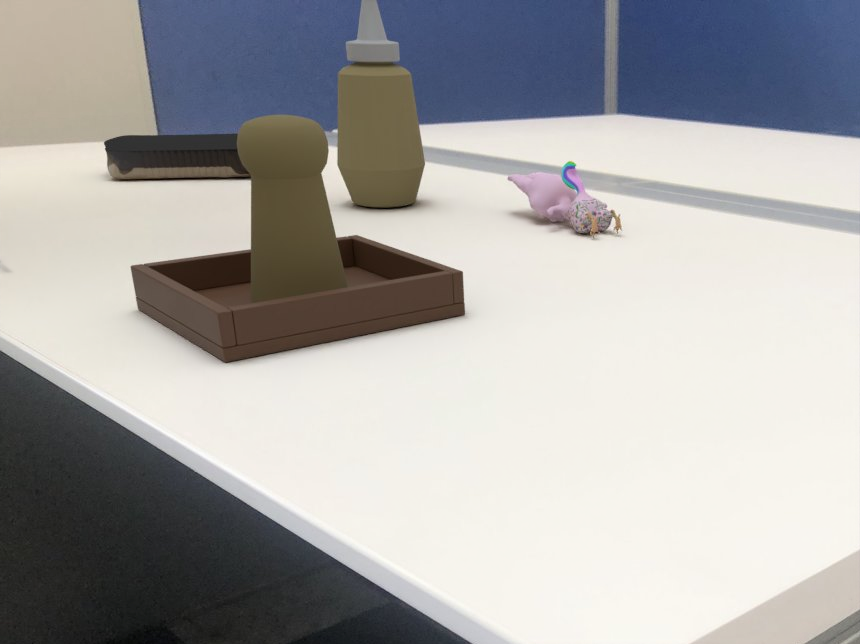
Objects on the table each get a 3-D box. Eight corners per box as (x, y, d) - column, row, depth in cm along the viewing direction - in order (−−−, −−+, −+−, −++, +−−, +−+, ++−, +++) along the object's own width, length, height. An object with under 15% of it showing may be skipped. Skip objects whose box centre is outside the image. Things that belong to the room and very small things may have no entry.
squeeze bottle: (445, 202, 103) (434, -2, 95) (387, 215, 96) (370, -2, 89) (382, 193, 106) (367, -4, 99) (322, 205, 100) (301, -5, 93)
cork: (230, 307, 65) (203, 119, 60) (283, 283, 70) (262, 109, 66) (320, 315, 64) (299, 123, 59) (367, 291, 69) (351, 113, 65)
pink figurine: (634, 247, 92) (543, 193, 102) (642, 180, 89) (547, 130, 99) (574, 256, 89) (486, 199, 98) (581, 186, 86) (488, 134, 95)
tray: (225, 362, 58) (217, 313, 57) (137, 309, 67) (129, 265, 66) (465, 314, 68) (463, 271, 66) (360, 273, 77) (357, 234, 75)
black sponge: (272, 167, 120) (268, 133, 119) (267, 178, 113) (263, 142, 111) (117, 169, 117) (111, 134, 115) (101, 181, 109) (94, 144, 108)
